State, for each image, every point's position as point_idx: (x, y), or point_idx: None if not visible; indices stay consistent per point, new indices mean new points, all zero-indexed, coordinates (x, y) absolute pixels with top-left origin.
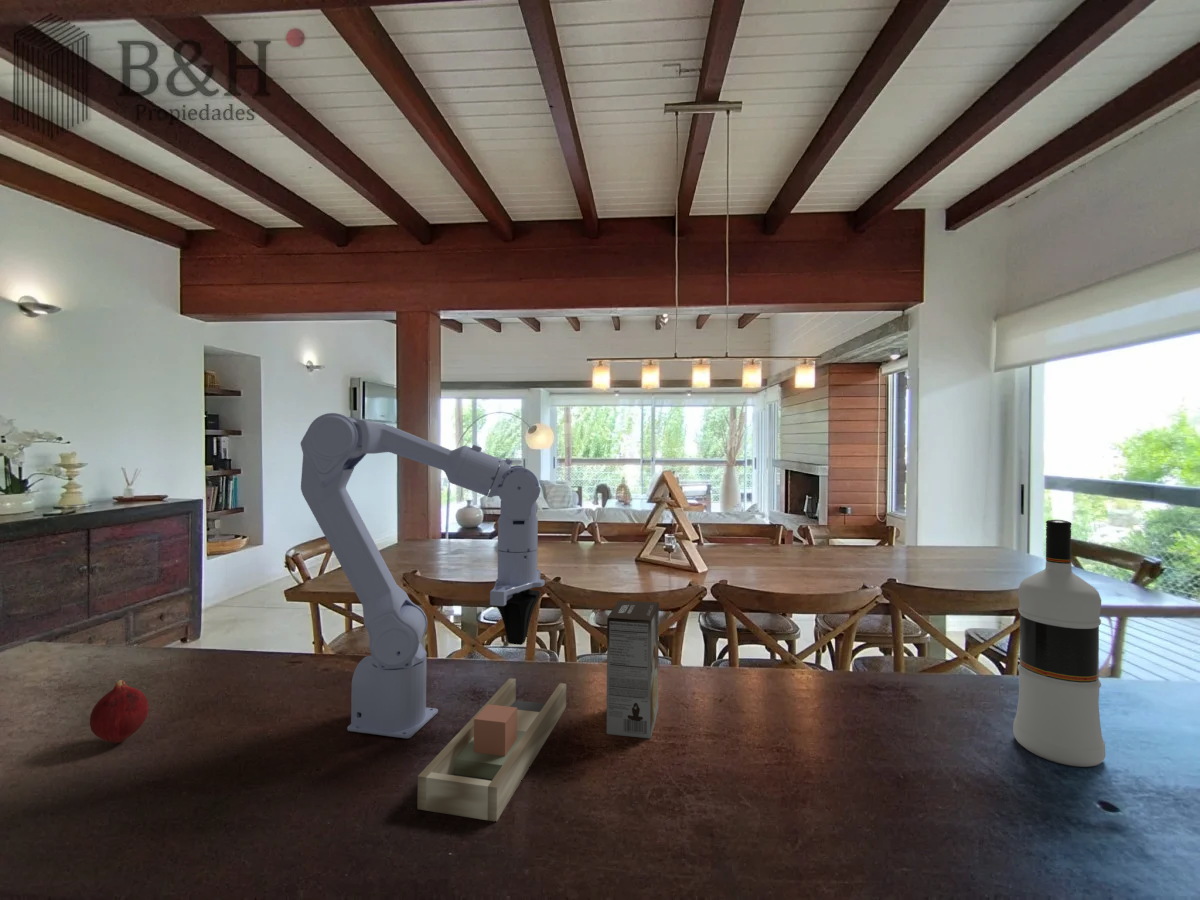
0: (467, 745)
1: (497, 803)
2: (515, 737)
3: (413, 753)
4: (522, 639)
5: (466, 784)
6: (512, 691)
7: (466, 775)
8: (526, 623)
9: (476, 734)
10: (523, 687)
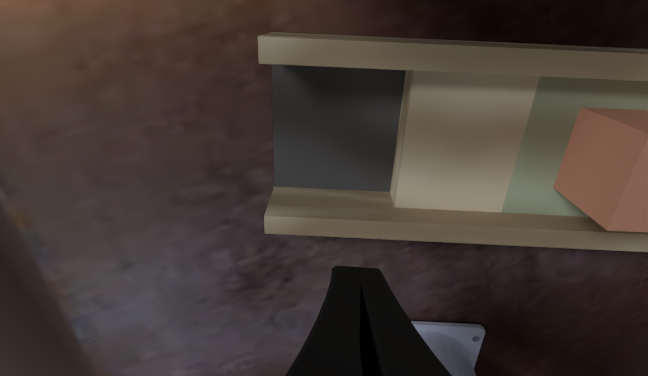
0: None
1: None
2: (601, 110)
3: (531, 298)
4: (386, 283)
5: None
6: (294, 203)
7: None
8: (382, 338)
9: None
10: (184, 190)
